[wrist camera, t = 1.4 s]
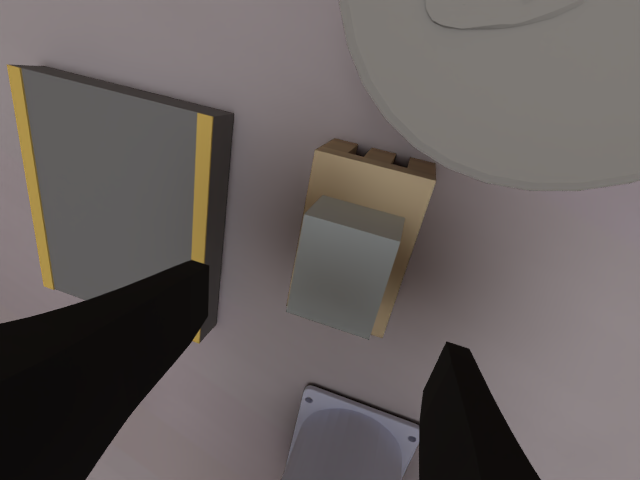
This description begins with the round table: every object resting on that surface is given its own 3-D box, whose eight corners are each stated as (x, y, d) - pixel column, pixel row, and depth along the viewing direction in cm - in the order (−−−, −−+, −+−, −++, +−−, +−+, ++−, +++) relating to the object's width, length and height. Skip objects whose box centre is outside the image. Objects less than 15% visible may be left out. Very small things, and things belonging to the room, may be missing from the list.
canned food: (359, 13, 16) (245, -96, 6) (555, -155, 12) (994, -997, 3) (447, 163, 17) (468, 268, 8) (646, 49, 14) (1157, -30, 4)
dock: (216, 324, 25) (199, 343, 23) (70, 272, 27) (43, 285, 25) (233, 113, 19) (212, 116, 17) (44, 66, 21) (7, 64, 19)
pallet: (390, 299, 21) (382, 338, 18) (307, 273, 22) (286, 306, 19) (435, 162, 18) (436, 181, 14) (335, 138, 18) (314, 149, 15)
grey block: (377, 305, 17) (369, 339, 15) (305, 281, 18) (286, 311, 15) (405, 217, 15) (400, 241, 13) (322, 194, 16) (304, 214, 14)
